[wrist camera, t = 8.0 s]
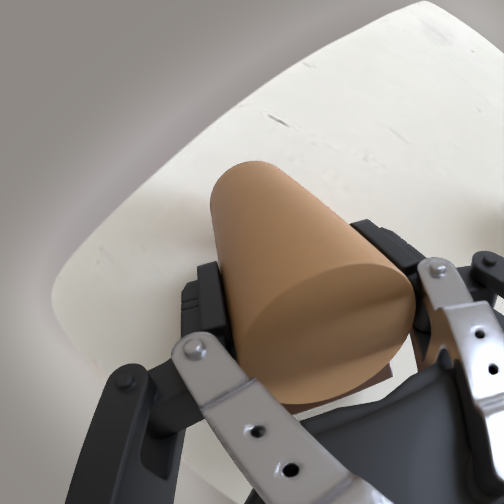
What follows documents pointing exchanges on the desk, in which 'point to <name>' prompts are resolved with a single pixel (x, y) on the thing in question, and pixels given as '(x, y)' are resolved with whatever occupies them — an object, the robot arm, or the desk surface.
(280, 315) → the tan cylinder
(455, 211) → the desk surface
